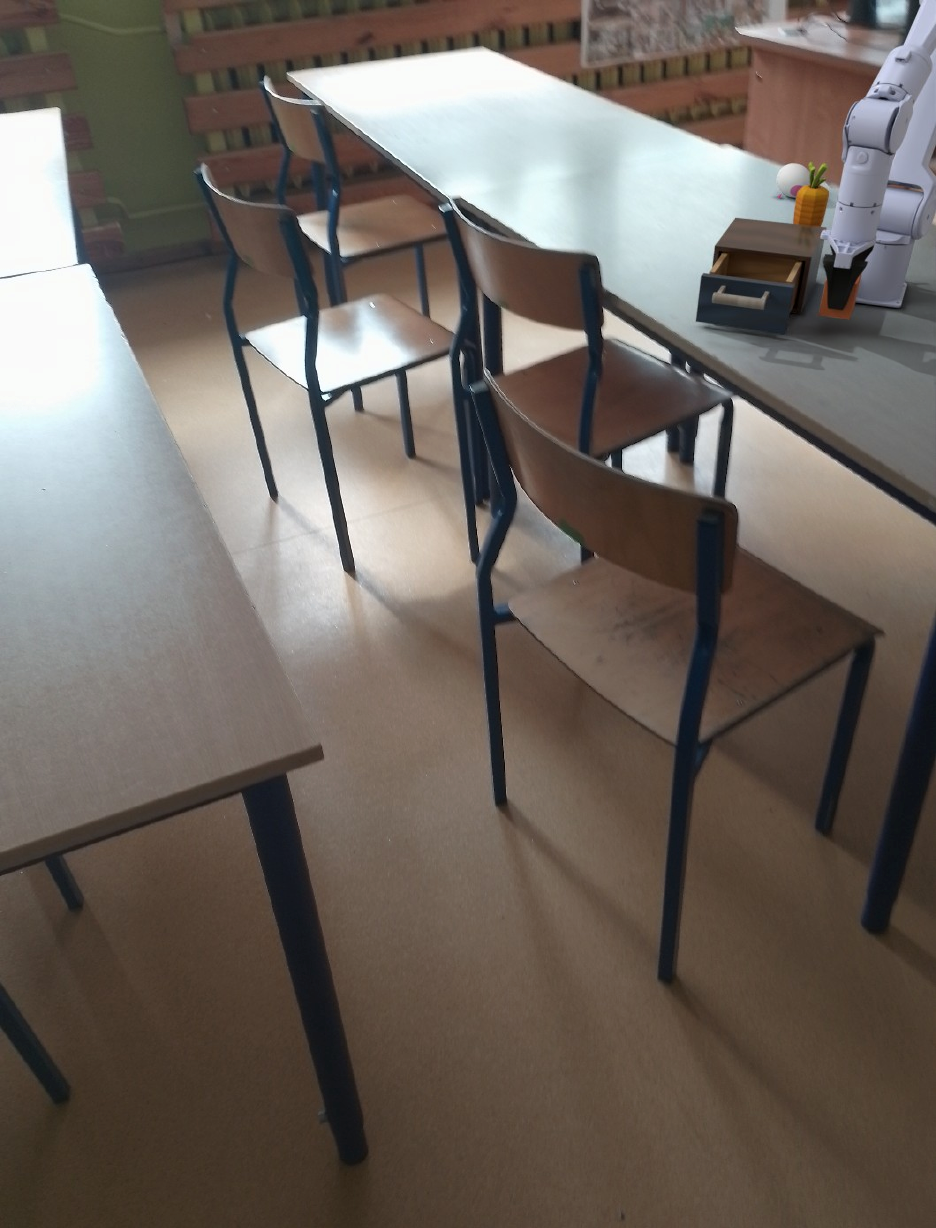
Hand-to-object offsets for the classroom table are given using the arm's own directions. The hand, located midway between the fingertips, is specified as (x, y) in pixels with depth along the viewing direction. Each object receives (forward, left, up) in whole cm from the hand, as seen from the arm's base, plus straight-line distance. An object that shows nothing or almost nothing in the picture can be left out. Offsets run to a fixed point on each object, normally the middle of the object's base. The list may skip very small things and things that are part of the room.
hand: (838, 302), depth 137 cm
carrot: (-27, -9, -4) cm, 29 cm away
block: (0, 0, -1) cm, 1 cm away
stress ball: (-60, -16, -4) cm, 62 cm away
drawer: (+2, -12, -3) cm, 13 cm away
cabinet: (-11, -12, -4) cm, 17 cm away
